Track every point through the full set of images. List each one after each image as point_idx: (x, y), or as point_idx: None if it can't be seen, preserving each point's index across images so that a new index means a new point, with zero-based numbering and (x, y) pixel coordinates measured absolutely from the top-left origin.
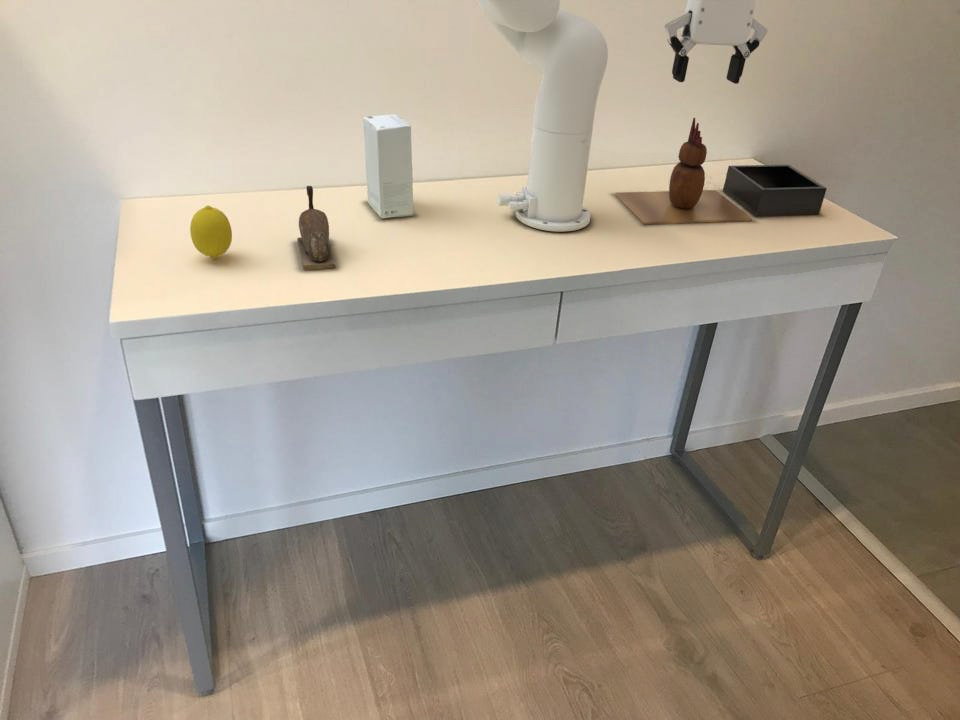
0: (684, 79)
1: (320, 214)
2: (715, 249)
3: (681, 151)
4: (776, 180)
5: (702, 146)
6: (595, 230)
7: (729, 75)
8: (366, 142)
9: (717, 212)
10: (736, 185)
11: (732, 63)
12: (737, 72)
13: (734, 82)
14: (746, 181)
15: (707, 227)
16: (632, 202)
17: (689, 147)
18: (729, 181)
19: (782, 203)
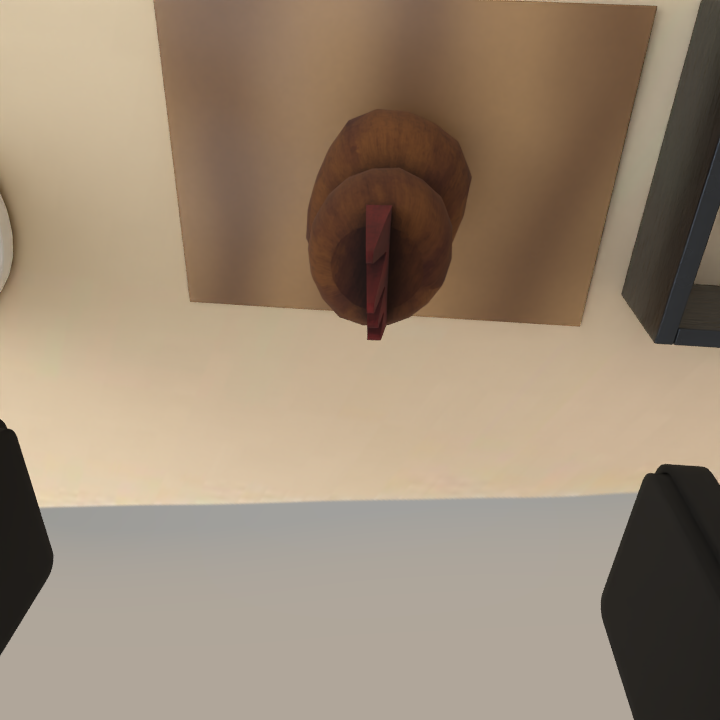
0: (42, 580)
1: None
2: (338, 465)
3: (308, 253)
4: None
5: (401, 309)
6: (29, 314)
7: (649, 548)
8: None
9: (490, 259)
10: (694, 125)
11: (707, 692)
12: (640, 709)
13: (604, 605)
14: (688, 214)
15: (393, 344)
16: (196, 121)
17: (328, 299)
18: (715, 47)
19: None
